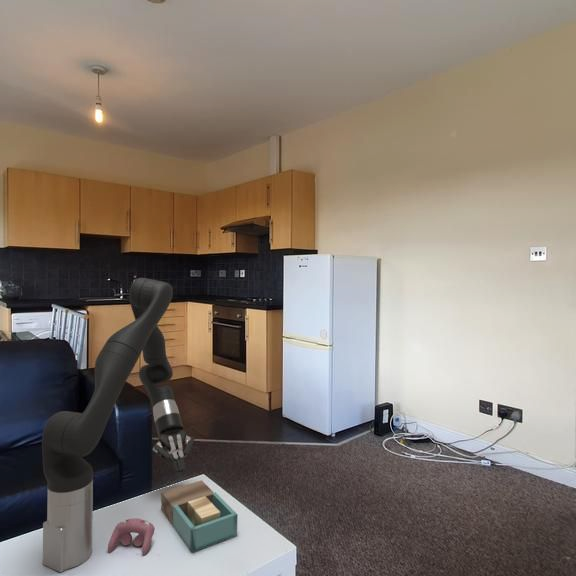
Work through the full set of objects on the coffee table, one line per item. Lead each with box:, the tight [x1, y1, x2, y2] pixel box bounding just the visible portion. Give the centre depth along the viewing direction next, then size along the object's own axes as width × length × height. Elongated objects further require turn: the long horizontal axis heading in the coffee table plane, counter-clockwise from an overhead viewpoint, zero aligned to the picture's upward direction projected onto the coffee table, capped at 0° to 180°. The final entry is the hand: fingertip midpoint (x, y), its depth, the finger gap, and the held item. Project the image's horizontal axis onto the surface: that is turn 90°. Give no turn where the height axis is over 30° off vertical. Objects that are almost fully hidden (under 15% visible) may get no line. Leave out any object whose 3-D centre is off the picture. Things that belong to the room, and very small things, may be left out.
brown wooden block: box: [160, 480, 215, 527], centre depth 115 cm, size 9×12×5 cm
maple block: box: [188, 496, 220, 527], centre depth 107 cm, size 5×5×9 cm
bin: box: [172, 491, 238, 554], centre depth 106 cm, size 13×12×6 cm
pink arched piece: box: [107, 518, 155, 556], centre depth 100 cm, size 10×5×7 cm, turn 85°
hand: (181, 472), depth 120 cm, fingers closed
